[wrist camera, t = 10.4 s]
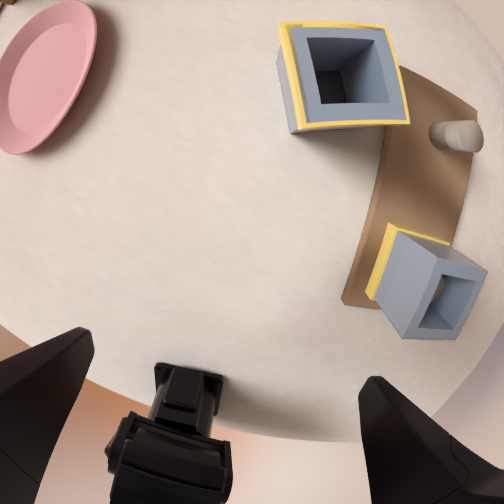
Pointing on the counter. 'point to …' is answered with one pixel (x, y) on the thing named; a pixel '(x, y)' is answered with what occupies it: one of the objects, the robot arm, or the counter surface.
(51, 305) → the counter surface
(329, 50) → the sleeve band up
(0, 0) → the wooden block
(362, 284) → the pin board
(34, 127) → the plate
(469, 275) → the sleeve band down
